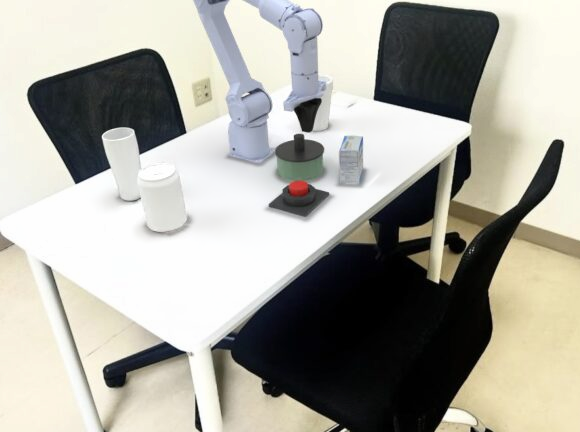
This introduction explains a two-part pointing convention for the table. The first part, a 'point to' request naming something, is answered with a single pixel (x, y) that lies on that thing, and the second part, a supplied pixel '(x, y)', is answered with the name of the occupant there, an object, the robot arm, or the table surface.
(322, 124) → the foam cup
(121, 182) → the drinking glass
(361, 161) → the medicine box
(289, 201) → the button base
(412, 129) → the table surface
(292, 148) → the lid
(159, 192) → the beverage can
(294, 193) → the button
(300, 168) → the green pot
